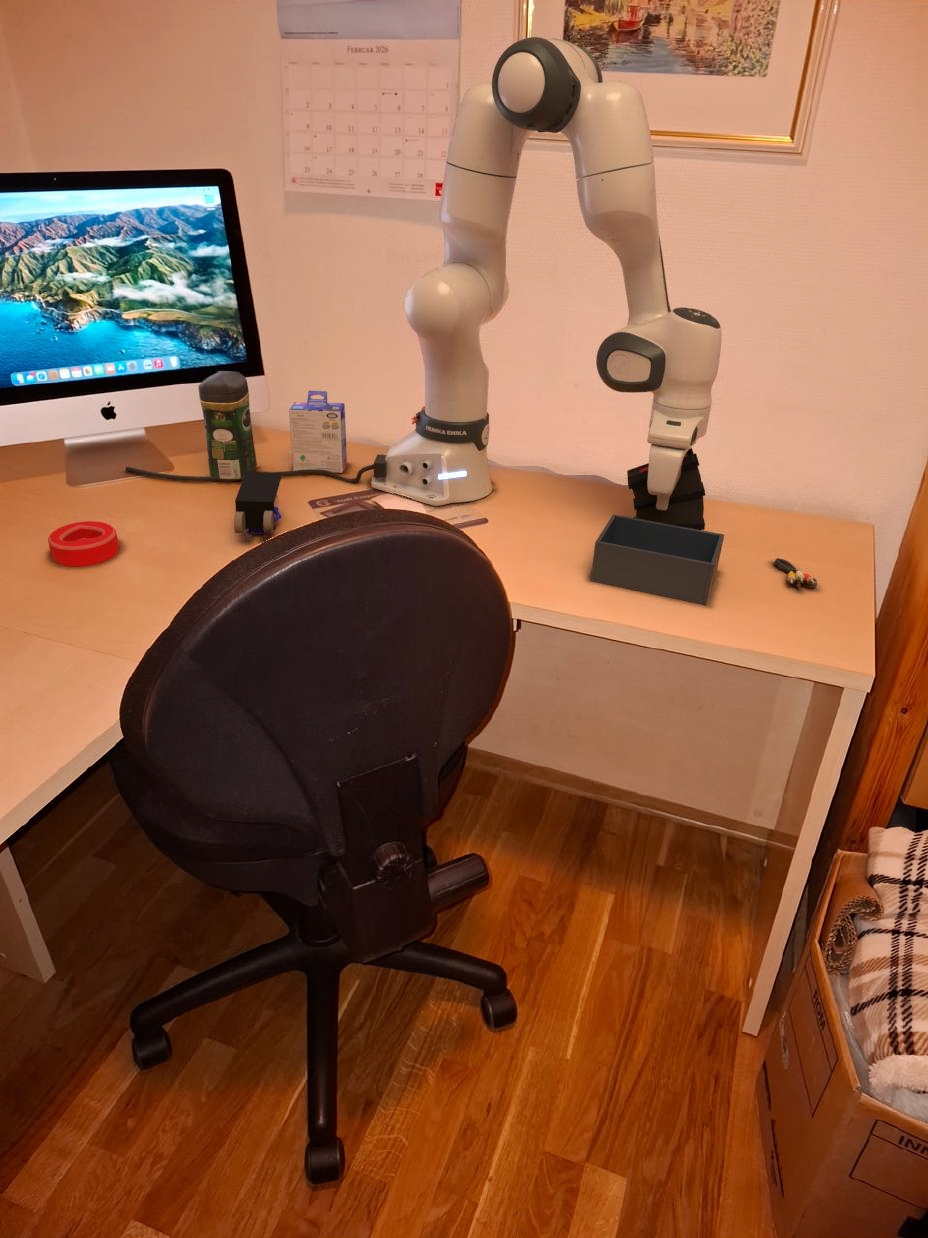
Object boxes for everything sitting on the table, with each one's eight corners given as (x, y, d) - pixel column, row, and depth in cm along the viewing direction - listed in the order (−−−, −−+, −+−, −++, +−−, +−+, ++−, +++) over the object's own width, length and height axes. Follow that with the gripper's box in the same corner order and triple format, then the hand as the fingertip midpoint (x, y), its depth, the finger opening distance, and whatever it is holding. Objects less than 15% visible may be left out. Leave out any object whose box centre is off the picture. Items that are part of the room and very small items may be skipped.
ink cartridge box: (348, 463, 166) (345, 390, 158) (344, 473, 161) (341, 398, 154) (297, 461, 166) (292, 388, 158) (292, 472, 161) (286, 396, 154)
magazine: (722, 536, 138) (696, 454, 132) (643, 560, 143) (614, 482, 136) (719, 527, 142) (693, 446, 135) (642, 551, 146) (614, 474, 139)
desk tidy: (590, 580, 127) (595, 541, 124) (607, 550, 136) (612, 513, 133) (706, 605, 122) (714, 565, 119) (716, 572, 131) (724, 534, 128)
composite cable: (770, 562, 135) (774, 548, 133) (801, 564, 135) (804, 550, 133) (788, 592, 126) (792, 578, 125) (820, 594, 126) (824, 579, 125)
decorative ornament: (98, 533, 136) (94, 515, 134) (131, 551, 131) (128, 533, 129) (39, 552, 129) (35, 533, 128) (72, 572, 124) (67, 553, 123)
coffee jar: (221, 463, 164) (209, 366, 154) (261, 465, 163) (252, 368, 154) (204, 481, 155) (190, 380, 146) (246, 484, 155) (235, 383, 145)
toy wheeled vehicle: (278, 554, 135) (286, 506, 146) (273, 513, 130) (282, 467, 142) (235, 554, 134) (246, 506, 146) (229, 513, 129) (241, 467, 141)
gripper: (670, 399, 141) (657, 477, 148) (646, 435, 125) (633, 521, 132) (708, 404, 139) (694, 483, 146) (689, 442, 123) (673, 529, 130)
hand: (665, 502), depth 139 cm, fingers closed on magazine, 4 cm apart
